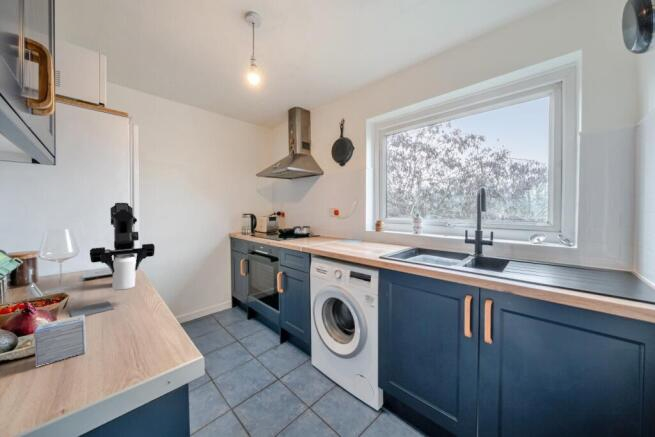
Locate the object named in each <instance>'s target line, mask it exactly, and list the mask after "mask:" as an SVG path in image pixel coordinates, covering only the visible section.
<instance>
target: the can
mask: <svg viewBox="0 0 655 437" xmlns="http://www.w3.org/2000/svg"><path fill="white" fill-rule="evenodd" d="M113 260H114V259H113ZM113 267H114V273H113V274H112V283H111V284H112V286H111V287H112V290H113V291H125V290H131V289H134V288H135V286H136V271H137V270H136V256H135V254H133V255H121V256H116V257H115V260H114V262H113Z"/></svg>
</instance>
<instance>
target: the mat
mask: <svg viewBox="0 0 655 437" xmlns="http://www.w3.org/2000/svg"><path fill="white" fill-rule="evenodd" d="M114 309H115V308H114V306H113V305H112V304H111V302H109V301H103V302H98V303H95V304H89V305H84V306H79V307H77V308H72V309H69V310H68V311H69V314H70V316H71V317H76V316H80V315H85V317H88V316H92V315H96V314H100V313H103V312H108V311H112V310H114ZM71 317H70V318H71Z"/></svg>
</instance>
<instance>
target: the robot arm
mask: <svg viewBox="0 0 655 437" xmlns="http://www.w3.org/2000/svg"><path fill="white" fill-rule="evenodd" d="M109 211H110V225H111V226H112V227H113V228H114V229H113V233H114V234H113V235H114V236H113V237H114V239H113V240H114V241H113V247H114V248H113V249H109V248H108V249H106V247H105V246H104V247H103V246H102V247H93V248H91V249H90V250H89V256H90V257H89V258H90V263H93V264H94V263H101V264H105V265H106V266H107V267H109V270H111V275H113V273H114V267H113V262H114V260H115V257H116V256H121V255H136V256H135V259H136V271H137V270H138V268H139V266H140V264H141V262H142V261H143V260H145V259H146V258H149V257H154V256H155V249H156V248H155V244H153V243H141V247H138V248H134V247H135V241H139V239H140V238H139V231H133V227H134V225H136V223H137V222H138V219H137V218H136V217H135V216H134V210H133V207H131V206H130V205H129V203H128V202H115V203H114V205H113V206H111V207H110V210H109Z"/></svg>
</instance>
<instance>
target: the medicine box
mask: <svg viewBox="0 0 655 437" xmlns="http://www.w3.org/2000/svg"><path fill="white" fill-rule="evenodd" d="M86 332H87V331H86V316H85V315H80V316H76V317H67V318H62V319H58V320H54V321H50V322H45V323H44V322H43V323H41V324H38V325H37V326H36V328H35V330H34V331H33V335H34V336H33V337H34V352H35V353H34V354H35V367H36V366H38V365H42V364H46V363H51V362H54V363H56V362H55V361H57V362H59V361H58V360H61V359H64V358H67V359H69V358H68V357H71V358H73V357H72V356H74V357H76V355H77V356H80V355H83V353H84V354H86V352H87V336H86V335H87V334H86ZM64 360H65V359H64ZM61 361H62V360H61ZM51 364H52V363H51Z"/></svg>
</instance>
